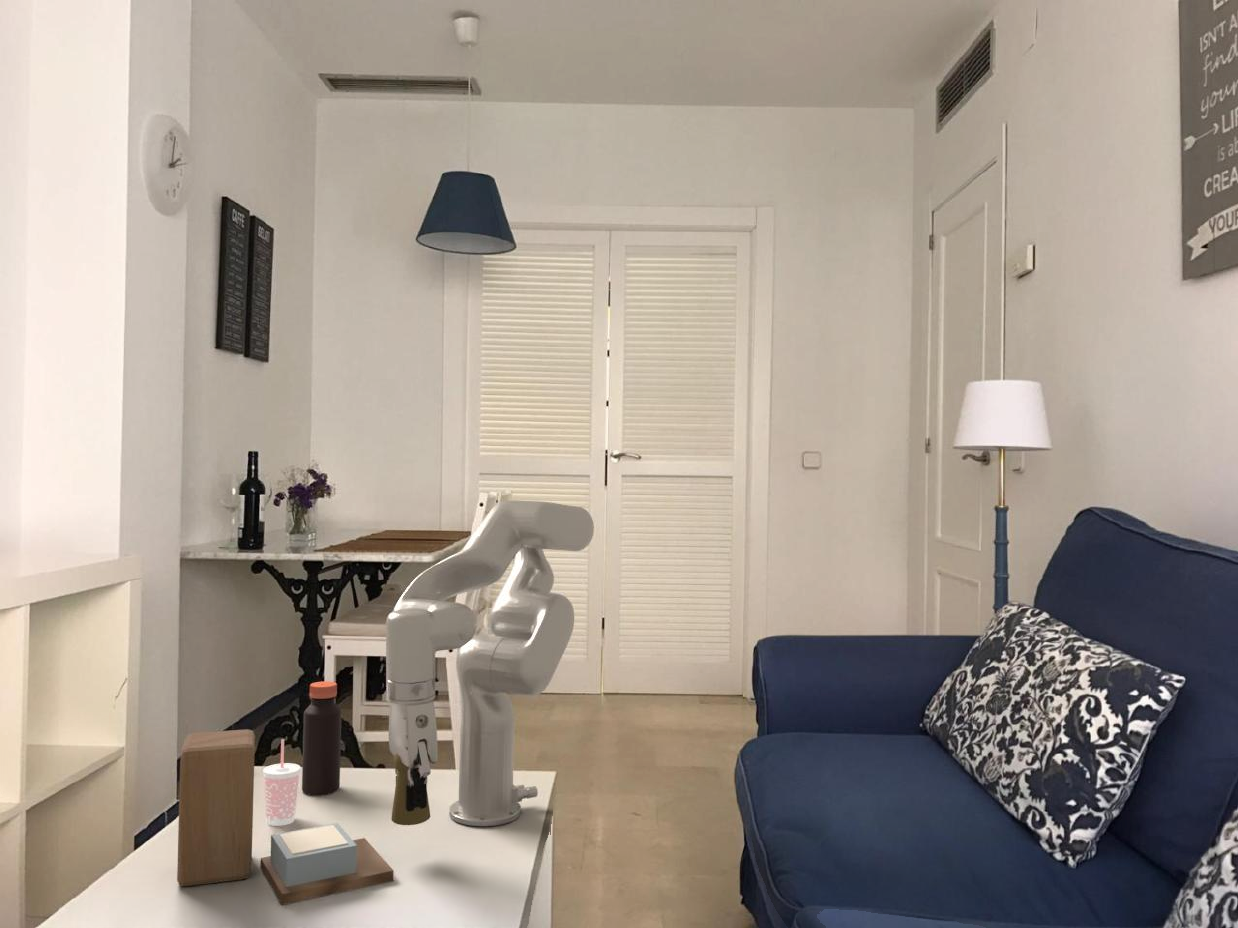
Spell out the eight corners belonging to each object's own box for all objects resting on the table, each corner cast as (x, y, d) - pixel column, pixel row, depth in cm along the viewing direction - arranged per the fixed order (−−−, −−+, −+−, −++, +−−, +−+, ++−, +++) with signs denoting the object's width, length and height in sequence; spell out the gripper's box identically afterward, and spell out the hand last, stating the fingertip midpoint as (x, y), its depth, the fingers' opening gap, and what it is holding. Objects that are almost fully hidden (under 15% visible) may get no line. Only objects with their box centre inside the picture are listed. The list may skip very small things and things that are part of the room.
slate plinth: (337, 848, 148) (337, 821, 148) (356, 872, 139) (356, 843, 139) (270, 861, 142) (271, 833, 142) (286, 886, 134) (286, 857, 134)
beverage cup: (256, 819, 163) (258, 738, 163) (290, 811, 167) (292, 732, 167) (269, 830, 158) (272, 746, 158) (305, 821, 162) (307, 740, 162)
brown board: (364, 847, 152) (364, 837, 152) (393, 880, 140) (393, 870, 140) (260, 867, 143) (260, 857, 143) (281, 904, 132) (282, 894, 132)
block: (182, 862, 145) (185, 731, 145) (251, 854, 148) (255, 726, 148) (176, 889, 135) (180, 750, 136) (251, 880, 139) (254, 744, 139)
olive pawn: (421, 826, 145) (420, 756, 145) (384, 823, 146) (384, 753, 146) (436, 811, 151) (436, 743, 150) (401, 807, 152) (401, 740, 152)
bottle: (333, 796, 174) (336, 688, 175) (296, 796, 174) (299, 687, 174) (343, 784, 181) (346, 680, 181) (308, 783, 181) (311, 679, 181)
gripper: (453, 698, 143) (454, 817, 143) (415, 673, 157) (415, 782, 157) (406, 705, 139) (406, 828, 139) (370, 679, 153) (371, 791, 153)
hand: (411, 802), depth 148 cm, fingers closed on olive pawn, 3 cm apart
